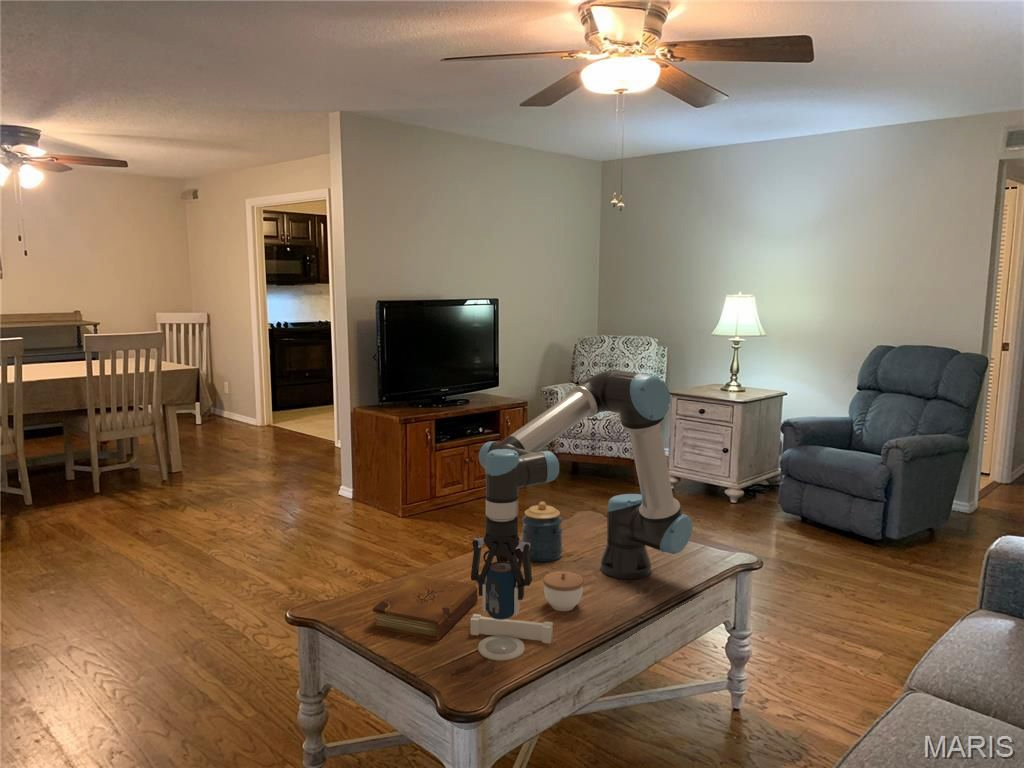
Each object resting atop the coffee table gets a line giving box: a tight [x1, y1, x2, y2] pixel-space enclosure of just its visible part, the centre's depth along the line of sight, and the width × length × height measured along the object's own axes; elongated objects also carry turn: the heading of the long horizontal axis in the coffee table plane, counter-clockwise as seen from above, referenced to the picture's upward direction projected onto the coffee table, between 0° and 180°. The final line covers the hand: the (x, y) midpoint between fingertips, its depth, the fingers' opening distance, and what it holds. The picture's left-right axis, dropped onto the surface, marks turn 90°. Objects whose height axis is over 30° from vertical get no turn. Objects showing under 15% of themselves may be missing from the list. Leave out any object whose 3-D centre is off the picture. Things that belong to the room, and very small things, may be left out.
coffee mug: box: [482, 546, 523, 570], centre depth 213 cm, size 12×9×10 cm
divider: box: [470, 613, 554, 645], centre depth 176 cm, size 20×3×4 cm, turn 78°
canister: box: [521, 501, 564, 563], centre depth 229 cm, size 13×13×18 cm
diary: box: [372, 574, 478, 642], centre depth 188 cm, size 23×19×6 cm
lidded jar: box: [543, 570, 584, 612], centre depth 193 cm, size 11×11×9 cm
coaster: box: [477, 635, 525, 662], centre depth 171 cm, size 11×11×1 cm
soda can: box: [486, 561, 517, 620], centre depth 169 cm, size 7×7×12 cm
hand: (501, 610), depth 169 cm, fingers closed on soda can, 7 cm apart
